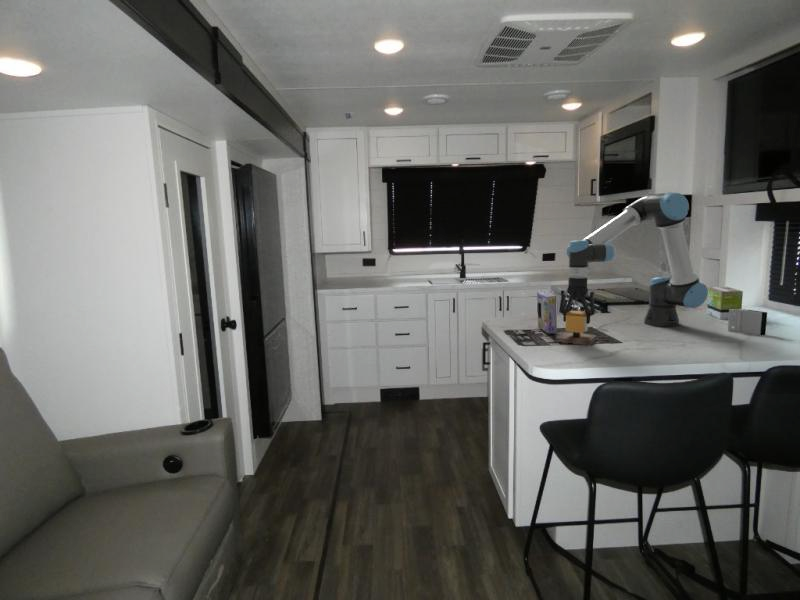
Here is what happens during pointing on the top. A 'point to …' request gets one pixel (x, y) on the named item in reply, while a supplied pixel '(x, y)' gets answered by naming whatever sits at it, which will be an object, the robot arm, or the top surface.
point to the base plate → (576, 338)
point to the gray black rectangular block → (747, 321)
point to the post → (576, 334)
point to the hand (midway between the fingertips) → (576, 330)
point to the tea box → (723, 301)
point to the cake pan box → (547, 312)
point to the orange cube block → (575, 321)
